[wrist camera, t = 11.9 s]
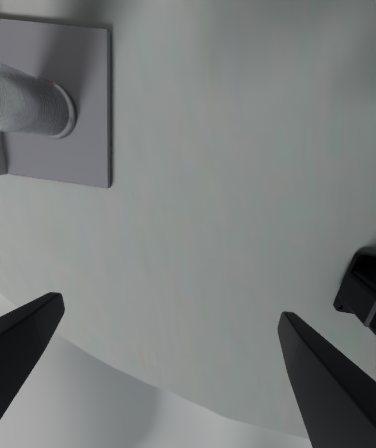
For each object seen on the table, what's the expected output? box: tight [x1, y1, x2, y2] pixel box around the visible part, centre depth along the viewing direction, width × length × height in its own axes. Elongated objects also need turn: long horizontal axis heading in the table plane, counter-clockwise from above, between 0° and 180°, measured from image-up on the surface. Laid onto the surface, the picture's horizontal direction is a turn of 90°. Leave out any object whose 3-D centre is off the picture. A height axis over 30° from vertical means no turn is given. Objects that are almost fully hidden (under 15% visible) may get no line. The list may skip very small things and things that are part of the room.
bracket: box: [0, 19, 110, 188], centre depth 18 cm, size 11×12×2 cm
